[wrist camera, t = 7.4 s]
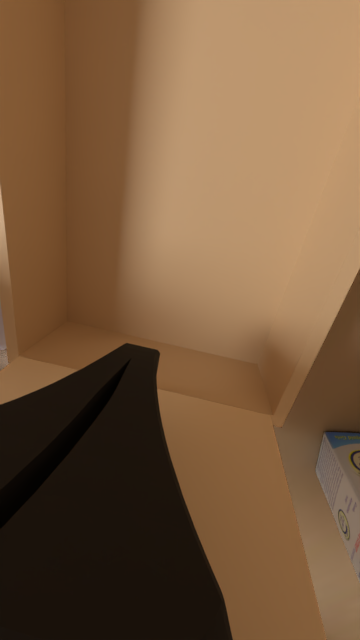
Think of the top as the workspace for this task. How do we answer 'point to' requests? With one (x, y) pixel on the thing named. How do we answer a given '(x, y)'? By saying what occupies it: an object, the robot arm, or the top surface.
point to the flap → (226, 505)
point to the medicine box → (342, 486)
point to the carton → (180, 186)
